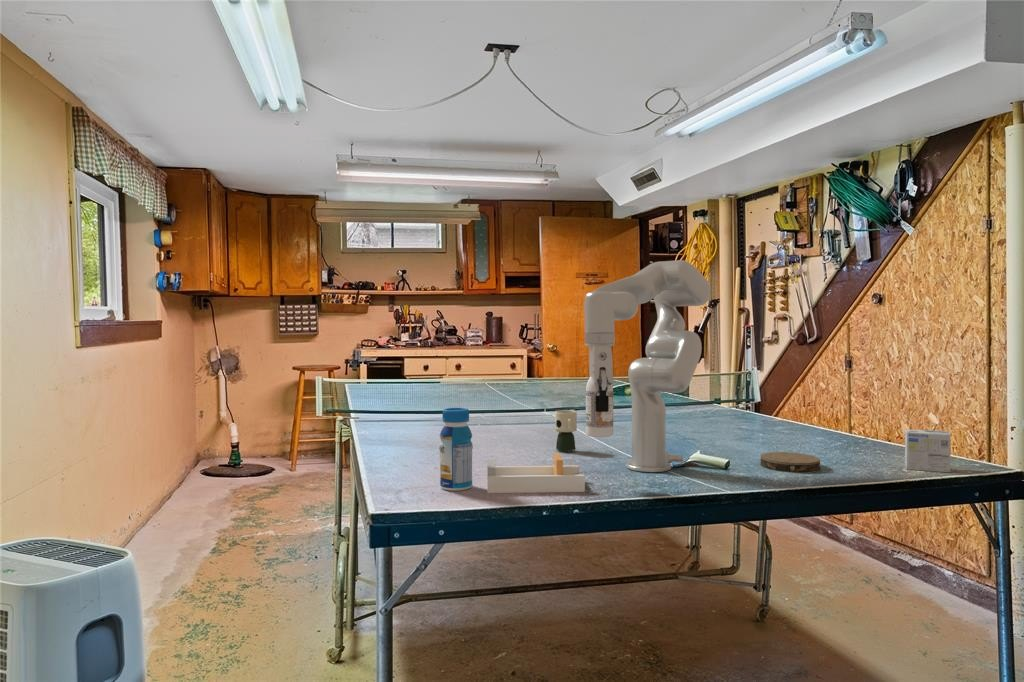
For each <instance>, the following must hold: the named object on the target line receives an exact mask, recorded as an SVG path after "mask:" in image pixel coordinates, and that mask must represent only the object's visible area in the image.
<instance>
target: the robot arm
mask: <svg viewBox="0 0 1024 682" xmlns="http://www.w3.org/2000/svg"><path fill="white" fill-rule="evenodd" d="M711 293H712V292H711V286H710V284H709V281H708V280H707V278H706V277H705V275H703V274H702V272H700V271H699V270H698V269H697V267H695V265H693V264H692V263H690V261H686V260H683V259H678V260H665V261H664V260H663V261H655V262H652V263H650V264H648V265H646V266H645V267H644V268H642V269H640V270H639V271H638V272H636V273H635V274H633V275H629V276H627V277H624V278H621V279H618V280H615V281H613V282H608V283H606V284H602V285H601V286H599V287H598V288H596V289H594V290H592V291H589V292H587V293H586V294H585V297H584V304H583V305H584V306H583V307H584V308H583V309H584V347H585V346H586V347H588V349H589V351H588V367H589V368H588V370H589V374H588V375H589V378H590V377H592V381H593V384H595V385H596V391H597V396H596V412H608V411H609V396H608V384H607V382H608V383H610V385H612V386H613V384H614V374H613V373H614V370H613V369H614V368H613V366H614V365H613V364H614V363H613V353H612V352H613V350H612V347H614V346H615V336H616V335H615V321H628V320H630V319H632V318H634V317H635V316H636V314H637V313H638V312H639V311H638V310H639V305H642V304H645V303H648V302H650V301H651V300H652V299H653V300H654V305H655V309H656V314H657V315H656V316H657V318H656V319H657V320H656V322H655V325H654V327H653V329H652V331H651V334H650V335H649V338H648V339H647V342H646V345H645V355H646V357H640V358H637V359H635V360H633V361H631V363H630V365H629V367H628V370H627V371H628V372H627V373H628V382H629V387H630V393H631V396H630V397H631V460H628V461H627V462H626V468H628V470H632V471H635V472H642V473H643V472H644V473H660V472H661V473H662V472H668V471H670V470H671V469H672V464H671V463H673V462H675V463H680V462H682V463H683V460H684V458H683V457H684V456H683V454H671V453H669V452H667V450H666V448H667V447H666V446H667V445H666V444H667V443H666V442H667V436H666V433H667V427H666V422H667V418H666V415H667V413H666V412H667V409H666V404H665V402H664V399H663V397H662V395H661V394H660V393H670V394H671V393H672V394H680V393H683V392H685V391H686V390H687V389H688V388H689V386H690V384H691V381H692V379H693V376H694V374H695V372H696V368H697V367H698V364H699V362H700V359H701V355H702V349H703V348H702V347H703V346H702V340H701V337H700V336H699V334H698V333H696V332H695V331H692V330H691V331H690V330H685V329H686V322H685V320H684V318H683V316H682V314H681V313H680V312H679V311H678V309H677V307H699V306H700V307H701V306H703V305H705V304H707V302H708V301H709V300H710V297H711ZM607 379H608V381H607ZM598 382H601V383H598ZM669 463H670V464H671V465H669Z"/></svg>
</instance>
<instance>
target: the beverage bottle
mask: <svg viewBox="0 0 1024 682" xmlns="http://www.w3.org/2000/svg"><path fill="white" fill-rule="evenodd" d="M469 421H470V410H469V408H466V407H448V408H447V407H446V408H443V409H442V423H444V425H443V427H442V429H441V431H440V433H439V439H440V443H439V447H438V448H439V455H440V456H439V459H440V461H439V464H440V465H439V467H440V468H439V470H440V471H439V472H440V477H439V478H440V480H439V485H440V488H441V489H442V490H445V491H451V492H452V491H453V492H454V491H455V492H457V491H466V490H469V489H471V488H472V487H473V447H474V446H473V442H472V438H473V433H472V431H471V429H470V427H469V425H468V423H469Z"/></svg>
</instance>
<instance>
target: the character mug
mask: <svg viewBox="0 0 1024 682" xmlns="http://www.w3.org/2000/svg"><path fill="white" fill-rule="evenodd" d="M577 412H578V411H575V410H571V409H570V410H567V409H562V410H555V411H554V431H555V432H558V434H557V438H556V447H555V450H556V451H559V452H566V453H568V452H569V451H575V450H576V441H575V435H574V433H575V432H576V431H577V430H578V429H577V428H578V421H577V420H578V416H577V415H578V414H577Z"/></svg>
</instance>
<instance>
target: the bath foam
mask: <svg viewBox="0 0 1024 682" xmlns="http://www.w3.org/2000/svg"><path fill="white" fill-rule="evenodd" d="M607 381H608V379H607ZM598 383H601V382H598ZM607 384H608V396H609V411H608V412H596V396H597V391H596V385H595V384H593V381H592V377H590V376H589V378H588V381H587V383H586V386H585V434H586V435H587V436H589V437H592V438H609V437H612V436H613V435H614V387H613V386H614V385H613V384H612V385H610V383H608V382H607Z"/></svg>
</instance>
